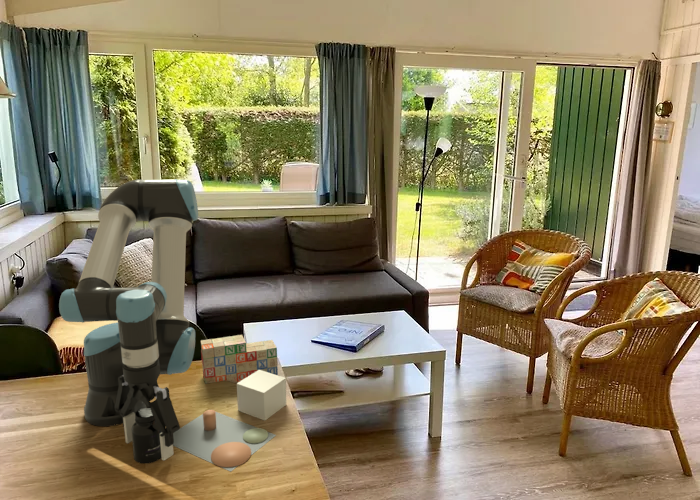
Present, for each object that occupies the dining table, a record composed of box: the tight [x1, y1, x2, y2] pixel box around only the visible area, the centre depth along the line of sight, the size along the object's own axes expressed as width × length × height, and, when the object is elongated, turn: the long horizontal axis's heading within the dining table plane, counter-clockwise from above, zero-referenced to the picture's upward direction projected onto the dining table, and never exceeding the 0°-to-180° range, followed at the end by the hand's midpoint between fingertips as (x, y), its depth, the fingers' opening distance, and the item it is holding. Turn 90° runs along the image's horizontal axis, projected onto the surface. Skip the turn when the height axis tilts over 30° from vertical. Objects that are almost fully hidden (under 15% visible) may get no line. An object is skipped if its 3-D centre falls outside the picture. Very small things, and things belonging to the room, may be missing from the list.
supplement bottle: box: [131, 407, 162, 465], centre depth 124 cm, size 7×7×12 cm
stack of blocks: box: [200, 334, 279, 384], centre depth 162 cm, size 21×6×12 cm, turn 110°
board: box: [173, 409, 277, 473], centre depth 131 cm, size 22×16×5 cm
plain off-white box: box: [236, 370, 287, 421], centre depth 144 cm, size 9×9×9 cm
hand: (149, 448), depth 125 cm, fingers open, 11 cm apart
